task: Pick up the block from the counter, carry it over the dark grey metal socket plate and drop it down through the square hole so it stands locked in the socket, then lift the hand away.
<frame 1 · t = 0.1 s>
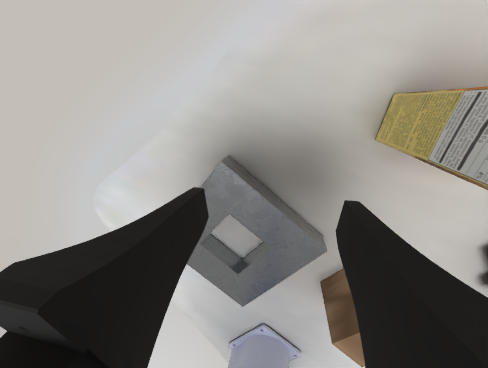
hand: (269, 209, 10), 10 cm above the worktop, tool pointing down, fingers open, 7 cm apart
block: (344, 284, 24), on the worktop
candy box: (436, 126, 16), on the worktop
socket plate: (238, 232, 24), on the worktop
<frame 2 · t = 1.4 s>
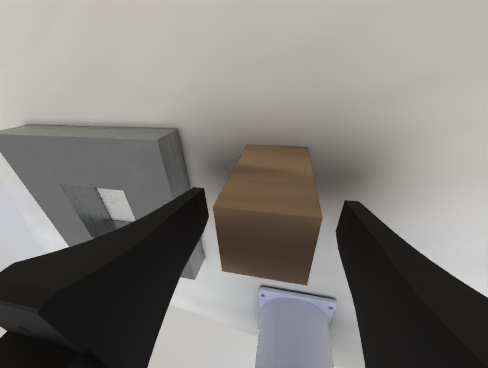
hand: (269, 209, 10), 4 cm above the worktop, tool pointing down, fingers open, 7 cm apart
block: (274, 172, 14), on the worktop
socket plate: (126, 199, 19), on the worktop
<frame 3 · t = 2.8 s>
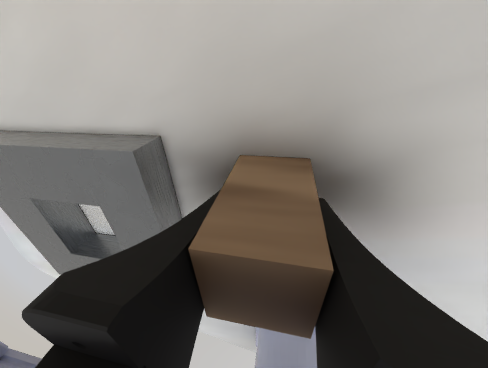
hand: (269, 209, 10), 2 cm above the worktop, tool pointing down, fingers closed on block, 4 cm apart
block: (272, 186, 12), on the worktop, touching gripper
socket plate: (109, 212, 17), on the worktop
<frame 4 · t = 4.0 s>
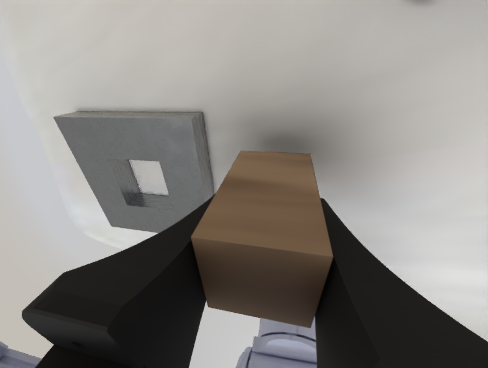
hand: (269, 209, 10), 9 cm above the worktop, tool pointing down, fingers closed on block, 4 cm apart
block: (272, 181, 12), point 7 cm above the worktop, touching gripper
socket plate: (155, 174, 23), on the worktop
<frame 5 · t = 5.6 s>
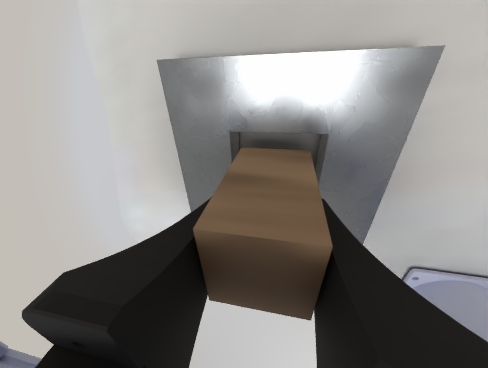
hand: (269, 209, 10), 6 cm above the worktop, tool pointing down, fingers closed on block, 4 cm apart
block: (273, 178, 12), point 3 cm above the worktop, touching gripper
socket plate: (276, 160, 15), on the worktop
when the fingers open (4 cm above the worktop, at t = 6.8 s): block drops 1 cm, resting in socket plate.
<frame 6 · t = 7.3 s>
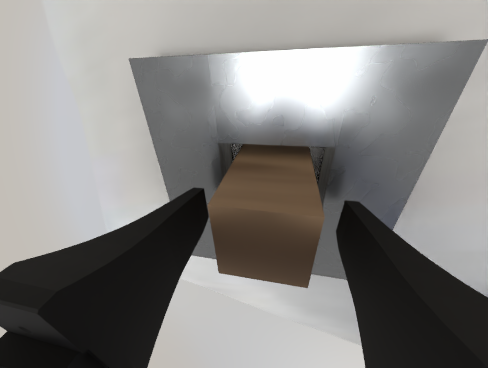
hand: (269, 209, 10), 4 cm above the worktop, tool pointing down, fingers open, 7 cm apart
block: (274, 169, 13), resting in socket plate
socket plate: (274, 173, 14), on the worktop
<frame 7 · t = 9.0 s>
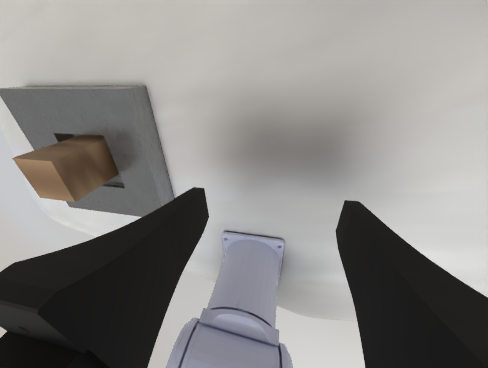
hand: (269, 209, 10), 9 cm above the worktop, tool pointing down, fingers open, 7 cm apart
block: (108, 150, 22), resting in socket plate
socket plate: (109, 153, 23), on the worktop
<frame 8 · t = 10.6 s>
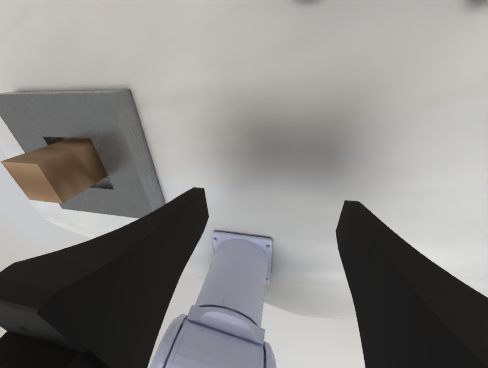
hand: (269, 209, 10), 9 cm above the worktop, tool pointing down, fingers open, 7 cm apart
block: (98, 153, 23), resting in socket plate
socket plate: (99, 155, 23), on the worktop
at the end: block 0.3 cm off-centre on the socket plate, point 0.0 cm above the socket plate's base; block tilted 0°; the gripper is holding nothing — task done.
